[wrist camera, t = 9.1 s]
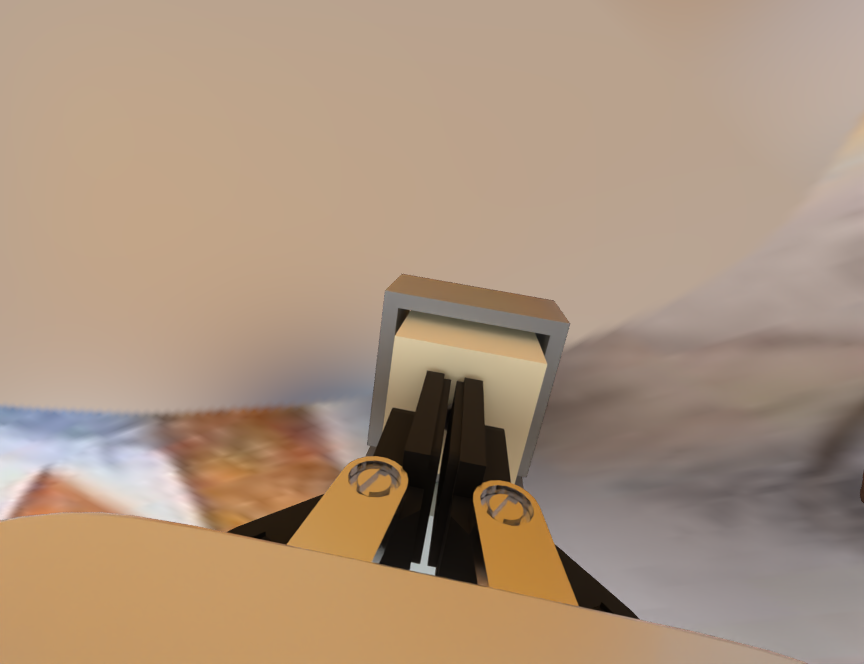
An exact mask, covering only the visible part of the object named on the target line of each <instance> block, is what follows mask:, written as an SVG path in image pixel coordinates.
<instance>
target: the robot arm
mask: <svg viewBox="0 0 864 664" xmlns="http://www.w3.org/2000/svg"><path fill="white" fill-rule="evenodd" d="M444 376H445V374H444V373H439V372H433V371H428V370H427V373H426V376H425V380H424V383H423V387H422V390H421V394H420V397H419V401H418V404H417V408H416V411H415V412H414V411H409V410H404V409H399V408H392V410H391V412H390V415H389V417H388V420H387V422H386V425H385V427H384V430H383V432H382V435H381V437H380V440H379V442H378V445H377V447H376V450H375V452H374V455H373V456H367V457H362V458H358V459H356V460H354V461H352V462H350V463H349V464H348V465H347V466H346V467H345V468H344V469H343V470H342V471H341V473H340V474H339V475H338V477H337V478H336V479H335V481H334V482H333V483H332V485H331V486H330V487H329V489H328V490H327V491H326V493H325V494H323V495H320V496H317V497H315V498H312V499H309V500H307V501H304V502H302V503H299V504H296V505H294V506H291V507H288V508H286V509H283V510H280V511H278V512H275V513H273V514H270V515H267V516H265V517H262V518H259V519H257V520H254V521H252V522H249V523H246V524H244V525H241V526H238V527H236V528H234V529H232V530H230V531H228V532H222V531H217V530H212V529H208V528H203V527H198V526H193V525H187V524H181V523H175V522H169V521H163V520H157V519H151V518H146V517H140V516H134V515H124V514H113V513H101V512H63V513H53V514H43V515H32V516H23V517H17V518H11V519H5V520H0V664H808V663H806V662H803V661H800V660H797V659H794V658H791V657H788V656H785V655H782V654H779V653H776V652H772V651H769V650H766V649H762V648H758V647H754V646H750V645H746V644H742V643H738V642H734V641H730V640H727V639H723V638H719V637H715V636H711V635H707V634H703V633H699V632H694V631H690V630H685V629H681V628H676V627H671V626H667V625H662V624H658V623H653V622H648V621H644V620H640V619H639V618H638V617H637V616H636V615H635V614H634V613H633V612H632V611H631V610H630V609H629V608H628V607H627V606H625V605H624V604H623V603H622V602H621V601H620V600H619V599H617V598H616V597H615V596H614V595H613V594H612V593H610V592H609V591H608V590H607V589H606V588H605V587H604V586H602V585H601V584H600V583H599V582H598V581H597V580H595V579H594V578H593V577H592V576H591V575H590V574H589V573H587V572H586V571H585V570H584V569H583V568H582V567H580V566H579V565H578V564H577V563H576V562H575V561H574V560H572V559H571V558H570V557H569V556H568V555H567V554H565V553H564V552H563V551H562V550H561V549H560V548H559V547H557V546H556V545H555V544H554V542H553V539H552V537H551V534H550V532H549V529H548V527H547V524H546V521H545V519H544V516H543V514H542V511H541V509H540V506H539V505H538V503H537V501H536V500H535V498H534V497H533V496H532V495H531V494H530V493H529V492H527V491H526V490H524V489H523V488H521V487H520V486H517V485H515V484H512V483H511V479H510V470H509V462H508V454H507V445H506V437H505V430H504V429H503V428H498V427H493V426H488V425H485V418H484V391H483V381H482V380H476V379H471V378H466V377H465V378H464V382H461V381H457V383H456V388H455V393H454V398H453V403H452V408H451V414H450V419H449V424H448V429H447V434H446V439H445V445H444V450H443V455H442V461H441V467H440V474H439V481H438V489H437V496H436V504H435V511H434V519H433V526H432V534H431V541H430V549H429V556H428V564H427V566H431V567H436V569H435V575H430V574H425V573H421V572H416V571H411V570H410V566H411V562H412V563H417V564H420V562H421V557H422V552H423V547H424V542H425V536H426V531H427V526H428V521H429V515H430V510H431V505H432V500H433V495H434V489H435V484H436V479H437V474H438V468H439V463H440V457H441V450H442V443H443V436H444V429H445V422H446V414H447V407H448V400H449V393H450V385H451V380H450V379H445V378H444Z"/></svg>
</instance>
